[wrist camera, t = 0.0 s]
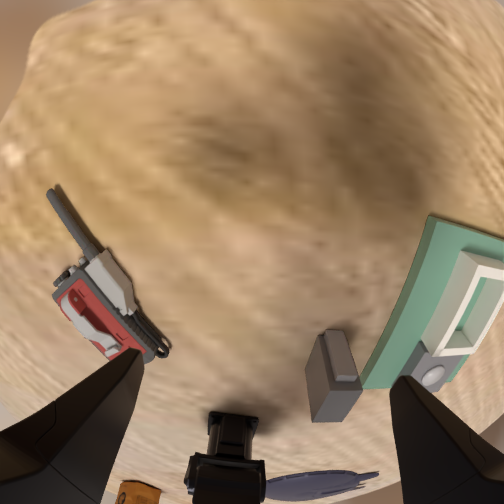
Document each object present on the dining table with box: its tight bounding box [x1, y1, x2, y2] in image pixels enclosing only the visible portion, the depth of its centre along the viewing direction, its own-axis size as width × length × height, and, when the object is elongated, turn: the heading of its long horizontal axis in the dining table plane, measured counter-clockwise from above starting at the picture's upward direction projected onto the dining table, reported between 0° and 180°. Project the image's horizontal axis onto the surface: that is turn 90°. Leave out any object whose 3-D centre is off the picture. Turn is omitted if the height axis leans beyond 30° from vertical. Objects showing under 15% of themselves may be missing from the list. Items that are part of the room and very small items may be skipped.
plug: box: [305, 329, 363, 422], centre depth 24 cm, size 7×3×7 cm, turn 172°
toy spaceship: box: [265, 470, 379, 501], centre depth 45 cm, size 28×24×3 cm
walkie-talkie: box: [46, 189, 169, 364], centre depth 23 cm, size 9×4×20 cm
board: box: [359, 215, 504, 393], centre depth 23 cm, size 20×15×4 cm
